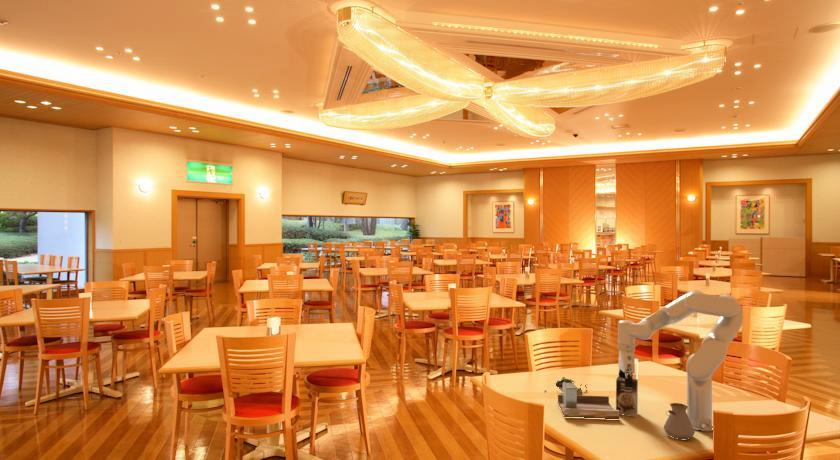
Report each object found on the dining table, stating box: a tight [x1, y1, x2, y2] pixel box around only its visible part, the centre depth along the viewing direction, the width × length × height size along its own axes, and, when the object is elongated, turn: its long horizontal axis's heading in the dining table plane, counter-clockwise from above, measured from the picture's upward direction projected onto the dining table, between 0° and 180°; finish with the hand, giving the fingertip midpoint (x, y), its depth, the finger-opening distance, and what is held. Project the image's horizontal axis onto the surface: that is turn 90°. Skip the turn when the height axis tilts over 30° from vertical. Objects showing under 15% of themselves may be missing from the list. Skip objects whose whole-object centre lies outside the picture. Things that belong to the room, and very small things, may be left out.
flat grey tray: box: [557, 394, 620, 420], centre depth 233 cm, size 18×24×5 cm
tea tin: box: [562, 382, 577, 409], centre depth 234 cm, size 8×5×10 cm, turn 174°
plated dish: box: [555, 376, 587, 395], centre depth 265 cm, size 35×28×7 cm
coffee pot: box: [663, 402, 696, 440], centre depth 202 cm, size 21×12×15 cm, turn 139°
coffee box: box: [615, 376, 639, 418], centre depth 231 cm, size 9×6×16 cm
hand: (625, 383), depth 231 cm, fingers open, 9 cm apart
